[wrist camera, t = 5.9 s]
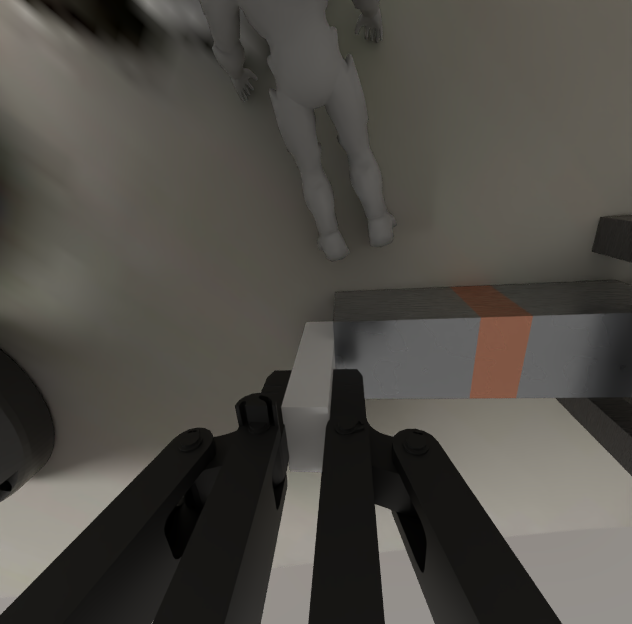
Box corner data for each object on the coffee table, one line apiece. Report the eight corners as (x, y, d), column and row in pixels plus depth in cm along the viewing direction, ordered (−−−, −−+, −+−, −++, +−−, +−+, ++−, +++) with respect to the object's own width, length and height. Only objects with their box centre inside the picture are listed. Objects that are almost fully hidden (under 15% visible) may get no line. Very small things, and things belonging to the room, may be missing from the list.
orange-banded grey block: (338, 355, 19) (337, 399, 15) (335, 291, 17) (333, 322, 13) (595, 350, 17) (664, 397, 13) (616, 280, 16) (701, 310, 12)
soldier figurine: (404, 188, 17) (345, -193, 9) (436, 236, 13) (379, -354, 5) (296, 225, 18) (165, -84, 11) (295, 280, 14) (84, -150, 7)
